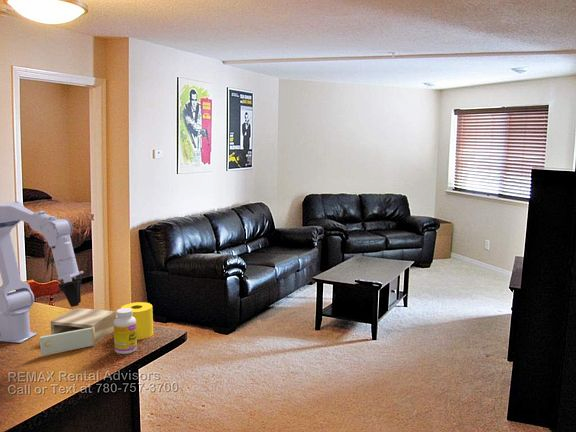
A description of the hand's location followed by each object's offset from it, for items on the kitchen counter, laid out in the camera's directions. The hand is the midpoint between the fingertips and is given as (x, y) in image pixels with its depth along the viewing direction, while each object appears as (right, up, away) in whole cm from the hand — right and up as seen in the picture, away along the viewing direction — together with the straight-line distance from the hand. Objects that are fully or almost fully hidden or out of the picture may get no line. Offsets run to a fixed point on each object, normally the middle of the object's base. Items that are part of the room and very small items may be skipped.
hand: (76, 304), depth 159 cm
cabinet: (-5, -13, +20) cm, 24 cm away
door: (-5, -15, +6) cm, 17 cm away
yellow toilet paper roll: (+12, -13, +21) cm, 28 cm away
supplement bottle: (+12, -15, +8) cm, 21 cm away
